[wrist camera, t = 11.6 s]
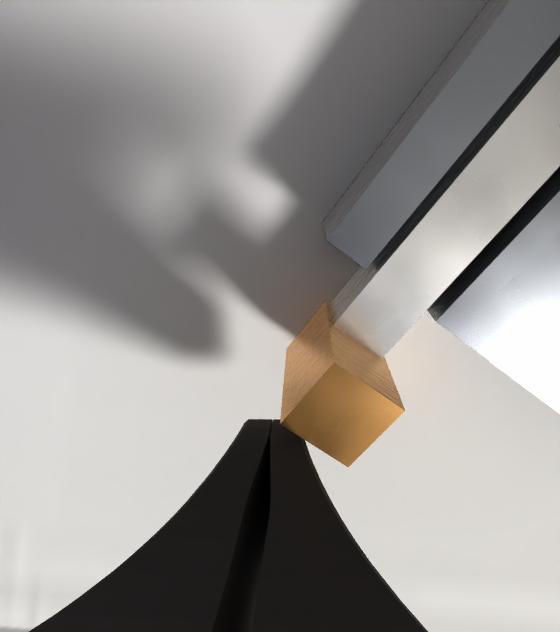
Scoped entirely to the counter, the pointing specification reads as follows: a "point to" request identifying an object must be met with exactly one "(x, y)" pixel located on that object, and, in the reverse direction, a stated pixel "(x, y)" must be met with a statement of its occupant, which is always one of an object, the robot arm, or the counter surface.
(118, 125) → the counter surface
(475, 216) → the lock pin
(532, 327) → the socket
